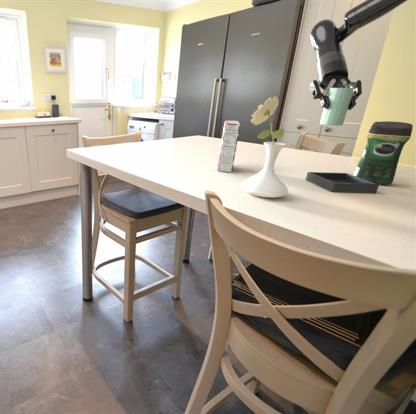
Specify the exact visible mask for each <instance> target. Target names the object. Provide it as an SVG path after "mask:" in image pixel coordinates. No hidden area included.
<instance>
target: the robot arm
mask: <svg viewBox="0 0 416 414" xmlns="http://www.w3.org/2000/svg"><path fill="white" fill-rule="evenodd" d="M407 1H408V0H364V1H362V2H360V3H359V4H357V5H356V6H354V7H352V8H350V9H349V10H348V11H346V12H345V13H344V15H343V20H344V23H342V24H341V26H339V27H337V24H336V23H335V21H333V20H332V19H322V20H320V21H318V22H317V23H315V24H314V25H313V27H312V29H311V30H310V35H309V36H310V37H309V38H310V42H311V44H312V47H313V50H314V52H315V58H316V71H317V77H318V80H317V79H313V81H312V82H311V83H310V85H309V91H310V94H311V96H312V100H319V101H320V106H321V108H322V109H323V110H324V109H327V108H328V107H329V105H330V102H329V96H328V93H329V89H330V88H354V91H353V95H352V98H351V101H350V104H349V107H348V110H347V111H352V110H353V109H354V107H355V106H356V105H357V102H356V101H357V99H358V98H359V97H360V96H361V95H362V94H363V89H362V88H363V87H362V86H363V85H362V80H356V81H351V80H350V78H349V69H348V65H347V60H346V56H345V55H344V51H343V47H342V44H341V43H342V42H344V41H345V40H346V39H347V38H349V37H350V36H351V35H353V34H354V33H355V32H357V31H358V30H359V29H362V28H363V27H365V26H367V25H369V24H371V23H373V22H375V21H377V20H379V19H381V18H382V17H385V16H386V15H388V14H389V13H391V12H392V11H393V10H395V9H397V8H399V7H400V6H401V5H403V4H404V3H406V2H407ZM321 89H322V91H323V92H322V91H321Z"/></svg>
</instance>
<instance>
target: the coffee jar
mask: <svg viewBox="0 0 416 414" xmlns="http://www.w3.org/2000/svg"><path fill="white" fill-rule="evenodd" d="M413 127H414V126H413V124H412V123H409V122H402V121H391V120H389V121H387V120H386V121H375V122H373V123H372V125H371V126H370V128H369V130H368V132H367V134H366V140H367V141H366V144H365V148H364V150H363V152H362V155H361V156H360V159H359V160H358V163H357V165H356V167H355V169H354V172H353V174H352V175H353V176H356V177H359V178H362V179H365V180H368V181H370V182H373V183H376V184H379V186H380V185H381V186H383V185H384V186H387V185H388V186H389V185H391V184H393V182H394V179H395V176H396V172H397V169H398V166H399V165H398V164H399V160H400V157H401V154H402V151H403V149H404V146H405V145H406V144H407V143H408V142H409V141H410V139H411V137H412V133H413Z"/></svg>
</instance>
